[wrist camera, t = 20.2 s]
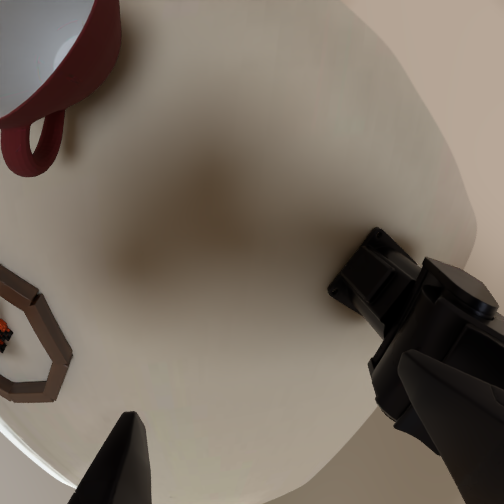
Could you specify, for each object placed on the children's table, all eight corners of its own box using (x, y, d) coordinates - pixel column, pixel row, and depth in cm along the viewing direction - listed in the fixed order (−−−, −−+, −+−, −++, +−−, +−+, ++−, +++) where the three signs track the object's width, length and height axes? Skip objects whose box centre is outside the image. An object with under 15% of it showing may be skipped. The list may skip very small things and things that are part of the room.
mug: (141, 154, 17) (93, 187, 8) (28, 168, 15) (-71, 213, 6) (148, -4, 13) (123, -94, 4) (34, 20, 11) (-50, -25, 2)
